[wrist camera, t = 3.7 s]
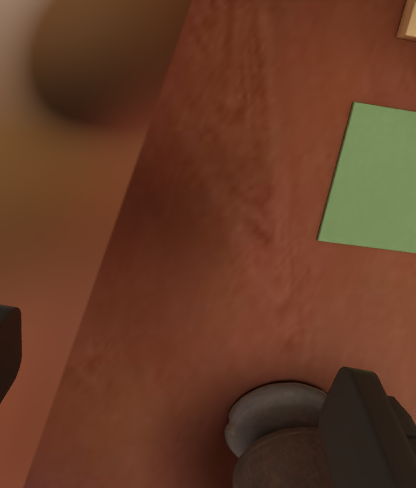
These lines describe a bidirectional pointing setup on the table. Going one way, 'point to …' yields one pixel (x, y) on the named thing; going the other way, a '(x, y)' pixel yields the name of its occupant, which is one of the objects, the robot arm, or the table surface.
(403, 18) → the stand
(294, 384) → the vase
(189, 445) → the table surface
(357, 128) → the felt mat
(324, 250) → the table surface
